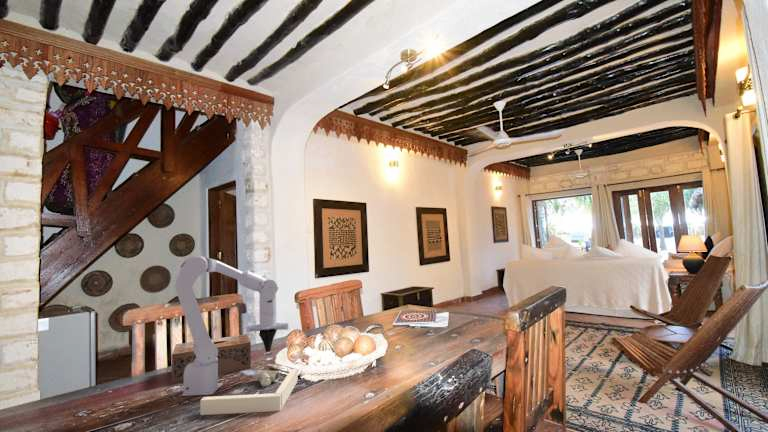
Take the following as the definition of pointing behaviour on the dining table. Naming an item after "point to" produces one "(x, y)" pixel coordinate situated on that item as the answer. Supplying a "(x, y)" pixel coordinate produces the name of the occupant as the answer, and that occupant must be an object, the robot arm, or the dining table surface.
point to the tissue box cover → (230, 356)
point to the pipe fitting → (266, 377)
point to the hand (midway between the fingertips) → (268, 350)
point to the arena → (250, 400)
